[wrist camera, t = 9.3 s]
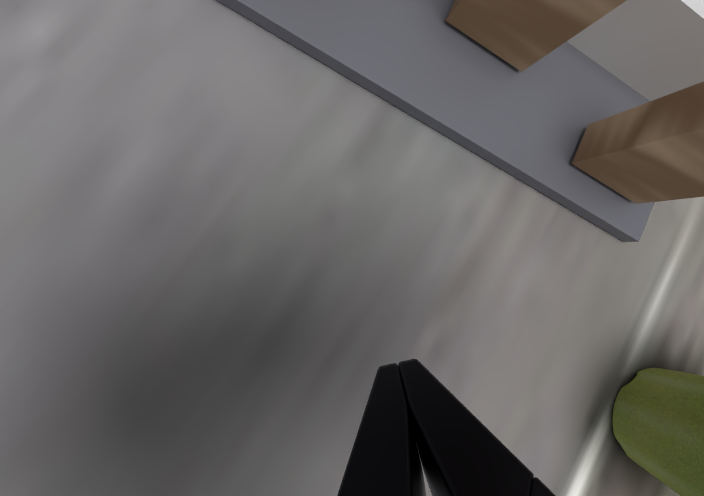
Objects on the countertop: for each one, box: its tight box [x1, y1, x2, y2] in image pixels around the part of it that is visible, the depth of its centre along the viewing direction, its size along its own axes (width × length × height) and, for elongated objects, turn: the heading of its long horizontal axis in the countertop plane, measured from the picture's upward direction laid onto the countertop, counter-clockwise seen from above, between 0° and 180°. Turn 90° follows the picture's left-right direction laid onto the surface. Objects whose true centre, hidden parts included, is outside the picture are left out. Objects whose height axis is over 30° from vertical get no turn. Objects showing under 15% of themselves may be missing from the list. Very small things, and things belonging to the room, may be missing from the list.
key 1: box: [572, 81, 704, 204], centre depth 18 cm, size 2×5×8 cm, turn 65°
